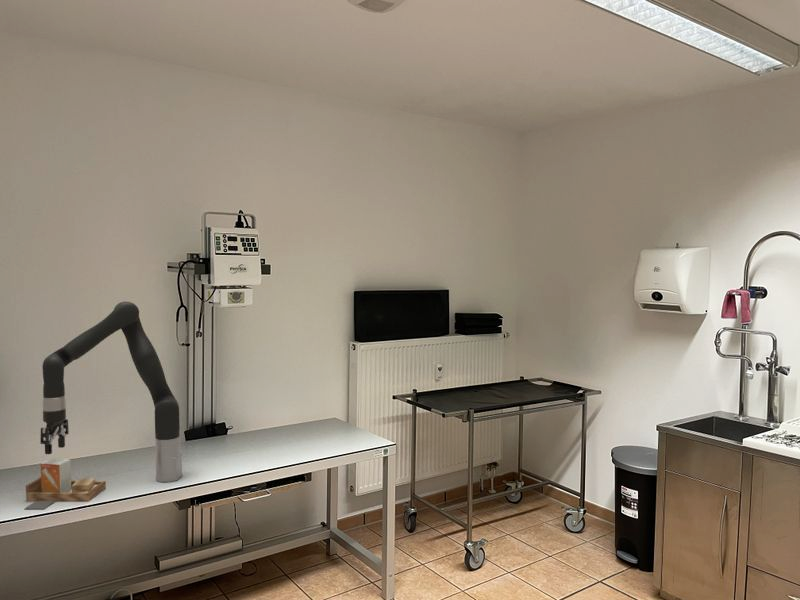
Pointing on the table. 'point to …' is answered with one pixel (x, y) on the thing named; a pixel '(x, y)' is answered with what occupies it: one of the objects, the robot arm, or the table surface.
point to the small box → (56, 476)
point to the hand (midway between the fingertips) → (55, 450)
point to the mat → (39, 505)
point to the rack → (36, 495)
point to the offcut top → (83, 485)
